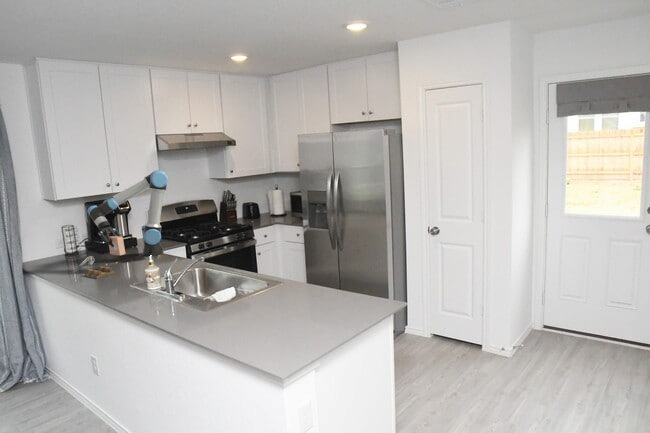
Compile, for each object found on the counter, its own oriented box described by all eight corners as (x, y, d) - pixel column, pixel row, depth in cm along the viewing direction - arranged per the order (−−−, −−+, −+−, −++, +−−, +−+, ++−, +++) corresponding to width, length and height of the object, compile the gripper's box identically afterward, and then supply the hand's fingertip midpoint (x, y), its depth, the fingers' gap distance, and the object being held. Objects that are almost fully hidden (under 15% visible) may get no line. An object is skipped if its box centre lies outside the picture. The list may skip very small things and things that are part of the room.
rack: (85, 275, 303) (84, 270, 302) (102, 271, 313) (101, 265, 312) (97, 278, 294) (96, 272, 294) (114, 273, 304) (113, 267, 303)
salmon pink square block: (110, 254, 317) (107, 237, 315) (115, 252, 320) (112, 235, 318) (120, 255, 310) (117, 238, 308) (125, 253, 313) (122, 236, 311)
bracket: (95, 260, 336) (89, 250, 330) (81, 281, 318) (75, 270, 313) (91, 261, 336) (85, 250, 330) (77, 281, 319) (71, 271, 313)
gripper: (112, 225, 328) (129, 249, 321) (89, 230, 314) (106, 255, 308) (115, 218, 324) (133, 242, 317) (92, 223, 310) (109, 248, 304)
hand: (120, 248), depth 312 cm, fingers closed on salmon pink square block, 4 cm apart
